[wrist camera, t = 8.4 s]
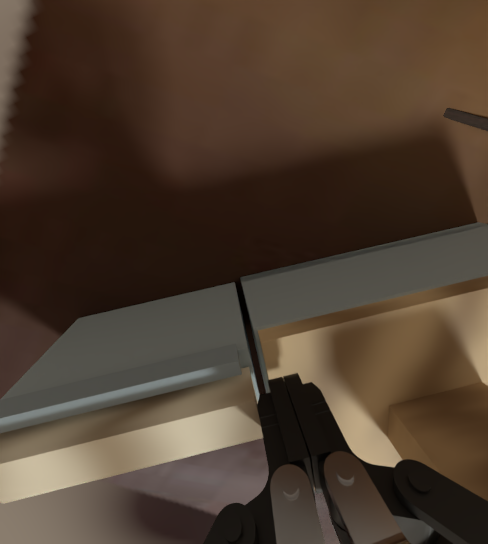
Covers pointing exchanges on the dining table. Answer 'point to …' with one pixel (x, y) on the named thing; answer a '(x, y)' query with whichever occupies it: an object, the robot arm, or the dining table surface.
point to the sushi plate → (467, 118)
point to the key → (128, 437)
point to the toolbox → (225, 325)
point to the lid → (401, 377)
